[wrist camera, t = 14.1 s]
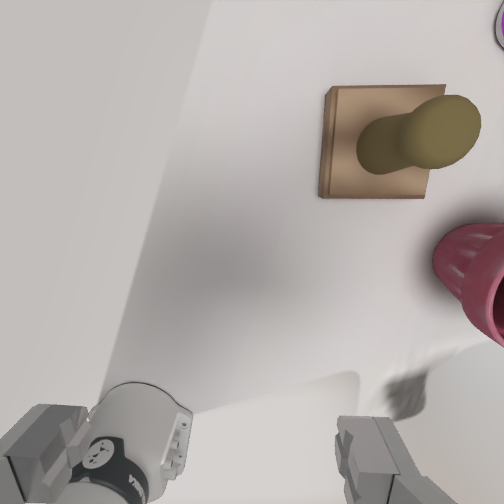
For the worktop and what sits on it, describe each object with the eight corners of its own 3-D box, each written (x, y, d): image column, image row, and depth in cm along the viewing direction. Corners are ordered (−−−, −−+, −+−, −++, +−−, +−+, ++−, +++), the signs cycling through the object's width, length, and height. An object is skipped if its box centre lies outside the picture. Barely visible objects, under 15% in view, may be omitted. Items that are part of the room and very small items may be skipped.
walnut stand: (409, 196, 34) (428, 199, 30) (318, 196, 34) (324, 198, 30) (427, 93, 30) (451, 81, 27) (325, 94, 31) (334, 83, 27)
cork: (357, 178, 30) (408, 181, 19) (354, 122, 28) (409, 90, 17) (411, 170, 29) (494, 167, 19) (412, 111, 27) (504, 72, 17)
